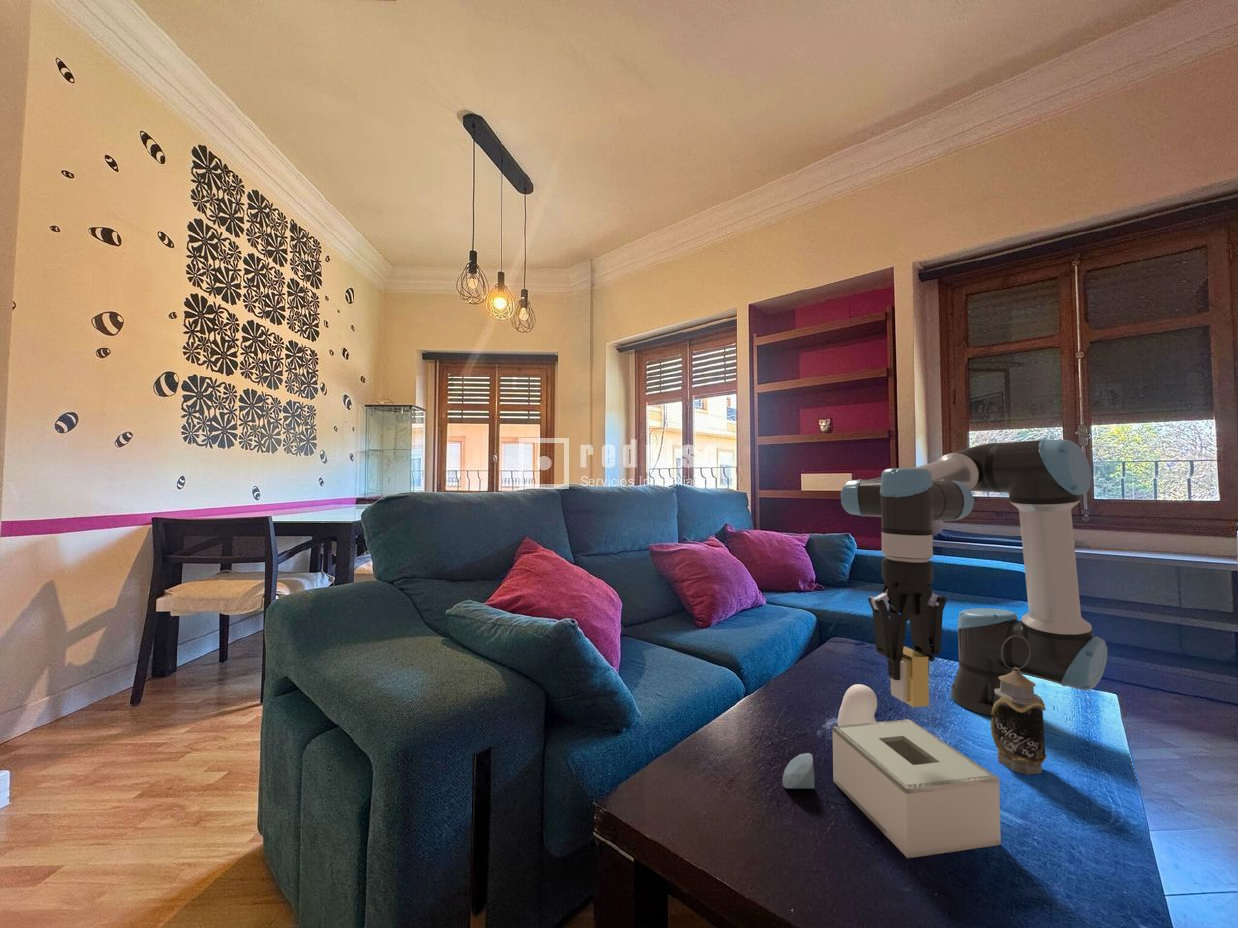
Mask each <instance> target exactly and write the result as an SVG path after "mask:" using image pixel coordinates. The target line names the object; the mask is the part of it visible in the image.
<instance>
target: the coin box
mask: <svg viewBox="0 0 1238 928" xmlns="http://www.w3.org/2000/svg"><path fill="white" fill-rule="evenodd" d="M832 765H833V766H832V772H833V773H832V774H833V775H832V777H833V778H832V781H833V783H834V784H835V786H837V787H838V788H839V789H840V790H841V791H842V793H844V794H845V795H846V796H847V798H849V799H850V801H852V803H853V804H855V806H857V807H858V809H859V810H860V811H861V812H862V813H863V814H864V815H865V816H866V817H867V818H868V819H869V820H870V821H871V822H872V823H873V824H874V826H876V827H877V828H878V829H879V830H880V831H881V832H882V834H883V835H884V836H885V837H886V838H887V839H888V840H890V842H892V844H894V846H895V847H896V848H897V849H898V850H899V851H900V852H901V853H902V854H903V856H905V857H906V859H912V858H913V859H914V858H918V857H926V856H933V855H939V854H944V853H945V854H947V853H954V852H960V851H966V850H974V849H980V848H988V847H995V846H1000V845H1001V844H1002V843H1001V836H1002V835H1001V803H1000V802H1001V800H1000V796H1001V795H1000V794H1001V793H1000V777H999V776H997V775H995V774H993V773H992V772H991V771H989V770H988V769H986V768H984V767H983V766H981V765H980V764H979V763H977V762H976V761H973V760H972V759H971V758H969V757H968V756H966V755H965V754H963V753H961V752H960V751H958V750H957V749H956V748H954V747H952V746H951V745H949V744H948V743H947V742H945V741H943V740H942V739H940V738H939V737H937V736H936V735H935V734H932V733H931V732H929V731H928V730H927V729H925V728H923V727H922V726H920V725H918V724H917V723H915V722H914V721H913V720H911V719H910V718H909V719H906V718H905V719H897V720H888V721H887V720H886V721H876V722H873V723H862V724H852V725H841V726H838V725H833V726H832Z"/></svg>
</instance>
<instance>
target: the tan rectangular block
mask: <svg viewBox="0 0 1238 928" xmlns="http://www.w3.org/2000/svg"><path fill="white" fill-rule="evenodd" d="M902 660H903V661H905V662H907V702H904V703H905V704H907V705H908V706H910V707H912V708H919V707H920V708H921V707H922V708H923V707H930V685H929V683H930V681H929V680H930V678H929V677H930V667H929V668H928V656H926V655H923V654H921V653H919V652H917V651H915V650H914V649H912V648H910V647H908V646H905V645H904V648H903V656H902Z"/></svg>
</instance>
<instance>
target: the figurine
mask: <svg viewBox="0 0 1238 928" xmlns="http://www.w3.org/2000/svg"><path fill="white" fill-rule="evenodd" d="M877 708H878V698H877V695H876V693H875V692H874V691H873V689H872V688H871V687H870V686H867V685H865V684H859V683H858V684H857V683H855V684H853V685H851V686H850V687H849V688H847V689H846V691H845V693H844V695H843V699H842V702H841V705H840V708H839V711H838V717H837V726H841V725H852V724H862V723H873V722H877V720H876V718H875V713H876V711H877Z"/></svg>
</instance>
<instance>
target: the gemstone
mask: <svg viewBox="0 0 1238 928" xmlns="http://www.w3.org/2000/svg"><path fill="white" fill-rule="evenodd" d="M814 768H815V767H814V757H813V755H812V753H810V752H805V753H800V754H798V755H797V756H795V757H794V758H792V759H791V760H790V761H789V763H787V765H786V767H785V768H784V772H783V775H782V787H784V788H785V789H811V790H812V789H813V790H814V789H815V771H814V770H815V769H814Z"/></svg>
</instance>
